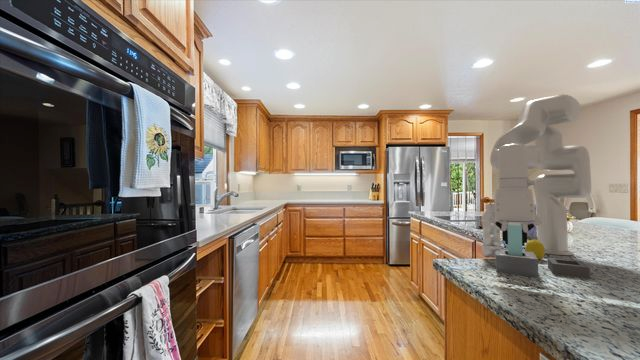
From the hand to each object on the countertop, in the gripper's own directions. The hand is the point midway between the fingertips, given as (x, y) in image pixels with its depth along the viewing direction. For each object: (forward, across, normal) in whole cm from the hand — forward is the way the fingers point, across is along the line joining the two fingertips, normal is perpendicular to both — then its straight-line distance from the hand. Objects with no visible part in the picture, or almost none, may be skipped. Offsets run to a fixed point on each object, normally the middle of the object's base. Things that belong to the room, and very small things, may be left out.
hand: (514, 243), depth 85 cm
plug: (+3, 0, 0) cm, 3 cm away
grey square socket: (+9, -13, -5) cm, 17 cm away
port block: (+9, 0, 0) cm, 9 cm away
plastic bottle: (+9, +6, -18) cm, 21 cm away
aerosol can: (+9, -11, -84) cm, 85 cm away
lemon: (+9, -7, -20) cm, 23 cm away
